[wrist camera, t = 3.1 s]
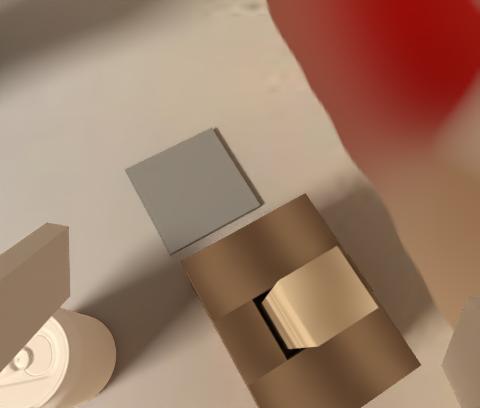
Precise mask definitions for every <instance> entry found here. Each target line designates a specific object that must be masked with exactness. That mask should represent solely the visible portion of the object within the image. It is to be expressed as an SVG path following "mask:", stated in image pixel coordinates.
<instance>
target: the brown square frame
mask: <svg viewBox="0 0 480 408" xmlns="http://www.w3.org/2000/svg"><path fill="white" fill-rule="evenodd" d="M336 246H337V247H338V248H339V250H340V251H341V253H342V254H343V256H344V257H345V259H346V260H347V261H348V263H349V264H350V266H351V267H352V269H353V270H354V272H355V273H356V275H357V276H358V278H359V279H360V281H361V282H362V284H363V285H364V287H365V288H366V290H367V291H368V293H369V294H370V296H371V297H372V299H373V300H374V302H375V303H376V305H377V306H378V308H377V309H376V310H374V311H373V312H371V313H369V314H368V315H366V316H365V317H363V318H362V319H360V320H359V321H357V322H355V323H354V324H352V325H351V326H349V327H348V328H346V329H345V330H343V331H342V332H340V333H338V334H337V335H335V336H334V337H332V338H331V339H329V340H328V341H326V342H324V343H323V344H321V345H320V346H318V347H306V348H294V349H282V347H281V346H280V344H279V342H278V341H277V339H276V337H275V335H274V334H273V332H272V330H271V329H270V327H269V325H268V323H267V322H266V320H265V318H264V316H263V315H262V313H261V311H260V310H259V308H258V307H259V306H260V305H261V303H262V302H263V301H264V299H265V298H266V297H267V295H268V294H269V293H270V291H271V290H272V288H273V287H274V286H275V284H276V283H277V282H278V281H279V280H280V279H282V278H284V277H285V276H287V275H289V274H290V273H292V272H294V271H295V270H297V269H299V268H301V267H302V266H304V265H306V264H307V263H309V262H311V261H312V260H314V259H316V258H317V257H319V256H321V255H323V254H324V253H326V252H328V251H329V250H331V249H333V248H334V247H336ZM181 262H182V264H183V266H184V269H185V271H186V273H187V275H188V278H189V280H190V282H191V284H192V286H193V287H194V289H195V291H196V293H197V295H198V297H199V299H200V300H201V302H202V304H203V306H204V308H205V310H206V312H207V313H208V315H209V317H210V319H211V321H212V323H213V325H214V326H215V328H216V330H217V332H218V334H219V336H220V338H221V339H222V341H223V343H224V345H225V347H226V349H227V350H228V352H229V354H230V356H231V358H232V360H233V362H234V363H235V365H236V367H237V369H238V371H239V373H240V375H241V376H242V378H243V380H244V382H245V384H246V386H247V388H248V389H249V391H250V393H251V395H252V397H253V399H254V401H255V402H256V404H257V406H258V408H361V407H362V406H364V405H365V404H367V403H368V402H369V401H371V400H372V399H374V398H375V397H377V396H378V395H379V394H381V393H382V392H384V391H385V390H387V389H388V388H389V387H391V386H392V385H394V384H395V383H397V382H398V381H399V380H401V379H402V378H404V377H405V376H407V375H408V374H409V373H411V372H412V371H414V370H415V369H417V368H418V367H419V366H421V364H420V362H419V361H418V359H417V358H416V356H415V355H414V354H413V352H412V351H411V349H410V348H409V346H408V345H407V343H406V342H405V340H404V339H403V337H402V336H401V334H400V333H399V331H398V330H397V328H396V327H395V325H394V324H393V322H392V321H391V319H390V318H389V316H388V315H387V313H386V312H385V311H384V309H383V308H382V306H381V305H380V303H379V302H378V300H377V299H376V297H375V296H374V294H373V293H372V292H373V291H372V289H371V288H370V286H369V285H368V283H367V282H366V280H365V279H364V277H363V276H362V274H361V273H360V271H359V270H358V268H357V267H356V265H355V264H354V262H353V261H352V260H351V258H350V257H349V255H347V254H346V253H345V251H344V250H343V248H342V247H341V245H340V244H339V242H338V241H337V239H336V238H335V236H334V235H333V233H332V232H331V231H330V229H329V228H328V226H327V225H326V223H325V222H324V220H323V219H322V217H321V216H320V214H319V213H318V211H317V210H316V208H315V207H314V205H313V204H312V202H311V201H310V199H309V198H308V196H307V195H306V193H305V194H303V195H301V196H299V197H298V198H296V199H294V200H292V201H290V202H289V203H287V204H285V205H283V206H281V207H279V208H278V209H276V210H274V211H272V212H270V213H269V214H267V215H265V216H263V217H261V218H259V219H258V220H256V221H254V222H252V223H250V224H249V225H247V226H245V227H243V228H241V229H239V230H238V231H236V232H234V233H232V234H230V235H229V236H227V237H225V238H223V239H221V240H219V241H218V242H216V243H214V244H212V245H210V246H209V247H207V248H205V249H203V250H201V251H199V252H198V253H196V254H194V255H192V256H190V257H188V258H187V259H185V260H183V261H181Z"/></svg>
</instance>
